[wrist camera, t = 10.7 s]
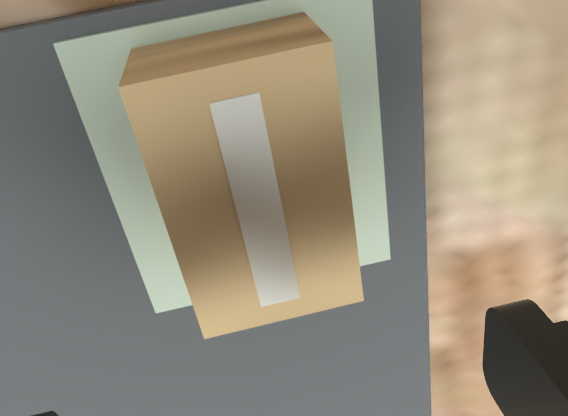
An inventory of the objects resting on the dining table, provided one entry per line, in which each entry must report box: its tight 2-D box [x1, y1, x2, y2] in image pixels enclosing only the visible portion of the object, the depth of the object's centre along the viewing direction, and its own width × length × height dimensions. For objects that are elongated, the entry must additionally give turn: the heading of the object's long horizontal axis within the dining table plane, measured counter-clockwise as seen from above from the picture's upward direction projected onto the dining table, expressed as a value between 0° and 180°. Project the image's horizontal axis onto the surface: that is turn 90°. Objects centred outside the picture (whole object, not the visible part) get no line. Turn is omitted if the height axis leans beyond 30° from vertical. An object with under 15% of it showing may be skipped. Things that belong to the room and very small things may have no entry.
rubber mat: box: [0, 0, 431, 416], centre depth 21 cm, size 20×22×1 cm
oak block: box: [118, 12, 364, 339], centre depth 16 cm, size 8×5×4 cm, turn 10°
